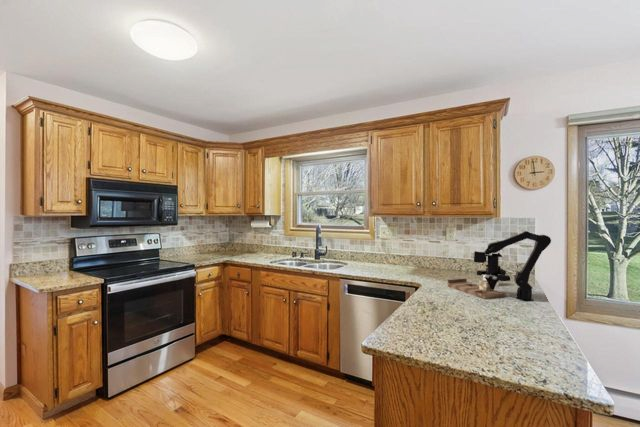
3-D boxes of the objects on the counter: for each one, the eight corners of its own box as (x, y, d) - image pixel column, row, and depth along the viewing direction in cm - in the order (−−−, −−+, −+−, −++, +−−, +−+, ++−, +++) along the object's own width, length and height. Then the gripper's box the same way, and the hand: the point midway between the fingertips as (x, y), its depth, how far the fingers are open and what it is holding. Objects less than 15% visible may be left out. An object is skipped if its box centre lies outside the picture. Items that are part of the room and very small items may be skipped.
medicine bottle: (498, 286, 202) (499, 268, 202) (488, 286, 202) (488, 268, 202) (493, 283, 209) (493, 266, 209) (482, 283, 209) (483, 266, 209)
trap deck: (504, 297, 176) (504, 289, 176) (484, 299, 172) (484, 291, 172) (465, 284, 205) (465, 278, 205) (447, 286, 200) (447, 279, 200)
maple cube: (492, 290, 182) (492, 282, 182) (486, 290, 181) (486, 282, 181) (485, 288, 187) (485, 280, 187) (479, 288, 185) (479, 280, 185)
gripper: (517, 265, 173) (517, 292, 173) (489, 260, 191) (489, 285, 191) (503, 266, 169) (502, 294, 169) (476, 261, 187) (475, 286, 187)
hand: (492, 289), depth 179 cm, fingers closed
